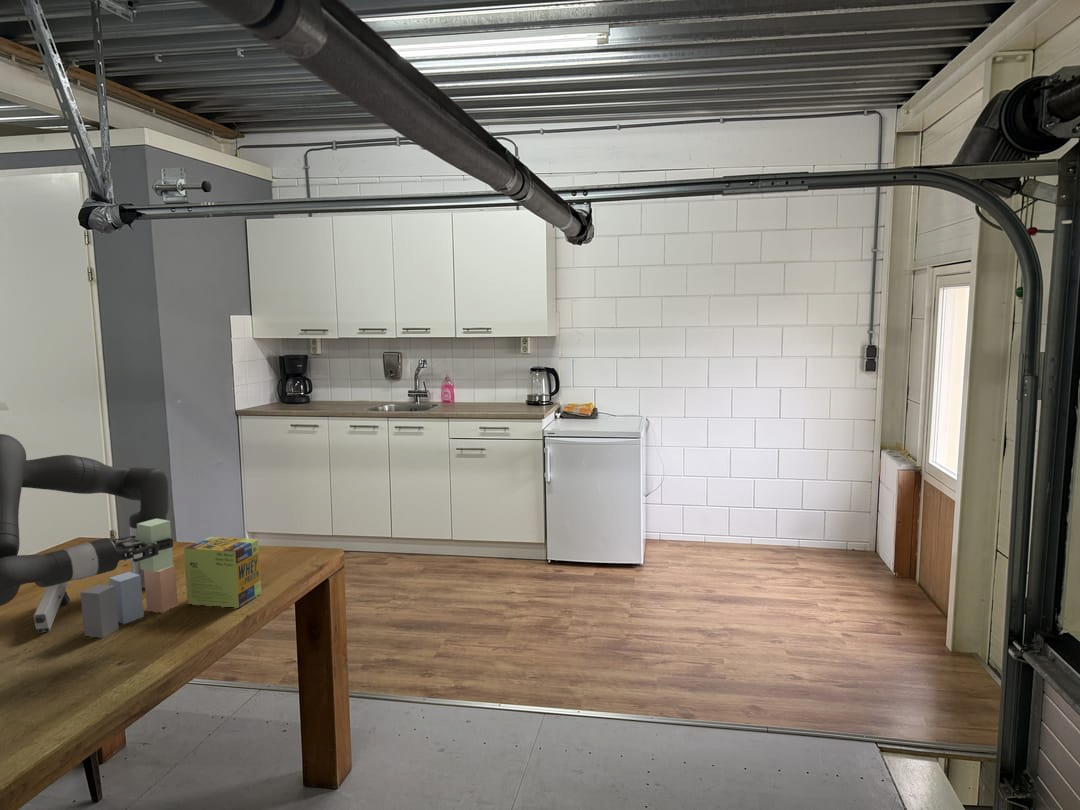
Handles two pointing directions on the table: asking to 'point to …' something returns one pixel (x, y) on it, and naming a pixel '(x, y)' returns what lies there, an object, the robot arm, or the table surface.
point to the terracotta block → (161, 589)
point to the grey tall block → (99, 610)
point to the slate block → (128, 596)
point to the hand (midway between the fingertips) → (165, 539)
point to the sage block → (151, 533)
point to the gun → (50, 606)
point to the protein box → (222, 571)
